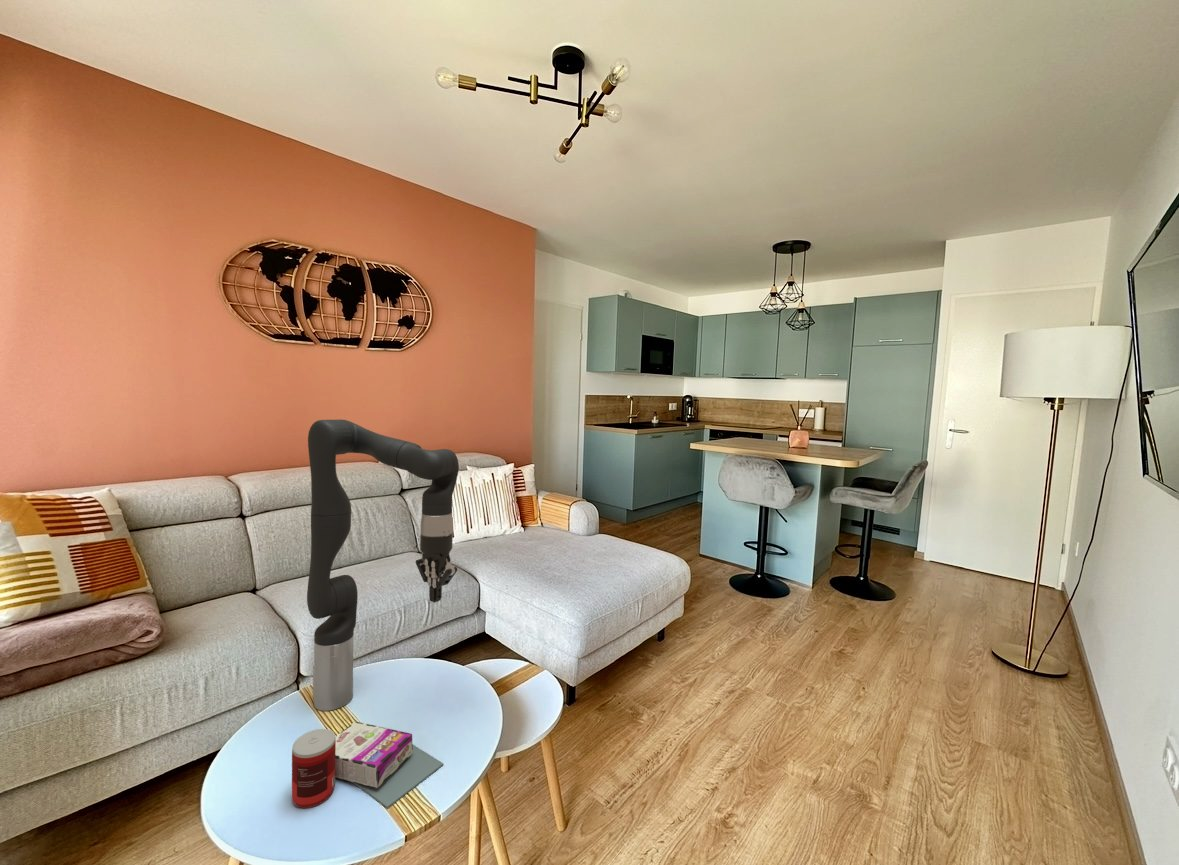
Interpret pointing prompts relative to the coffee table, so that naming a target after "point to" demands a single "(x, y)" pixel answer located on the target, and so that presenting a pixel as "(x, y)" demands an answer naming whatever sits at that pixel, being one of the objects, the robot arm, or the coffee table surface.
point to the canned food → (313, 767)
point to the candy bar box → (370, 753)
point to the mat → (404, 778)
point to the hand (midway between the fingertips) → (435, 600)
